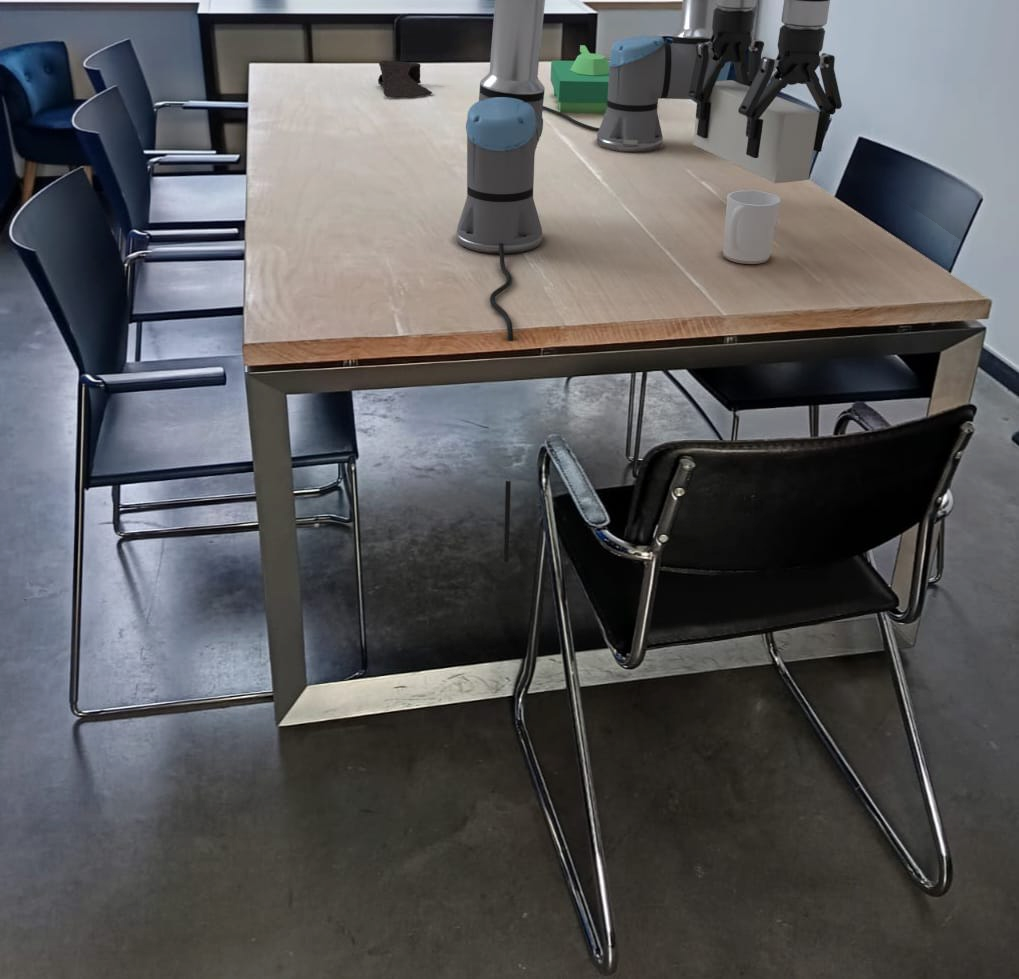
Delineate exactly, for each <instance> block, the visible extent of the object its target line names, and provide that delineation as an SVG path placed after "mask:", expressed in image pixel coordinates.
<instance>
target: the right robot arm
mask: <svg viewBox="0 0 1019 979" xmlns="http://www.w3.org/2000/svg"><path fill="white" fill-rule="evenodd" d="M757 1H758V0H682V3H681V14H680V26H679V28H678V29H677V30H676V31H675V32H674V33H673V34H672V42H671V43H665V40H664V38H663V37H662V36H660V35H638V36H637V35H636V36H631V37H626V38H622V39H619V40H618V41H615V42H614V43H613V45H612V46H611V49H610V56H609V61H608V62H609V67H610V70H609V84H608V97H607V109H606V112H605V114H603V118H602V121H601V123H600V126H599V127H596V126H592V125H588V124H586V123H583V122H581V121H578V120H577V119H574V118H572V117H571V116H569V115H567V114H566V113H560V112H559V110H556V109H553V108H550V107H548V106H545V105H543V111H546V112H548V113H551V114H554V115H556V116H559V117H560V118H563V119H565V120H567V121H569V122H570V123H572V124H574V125H576V126H579V127H581V128H584V129H586V130H589V131H592V132H593V131H594V132H597V133H596V145H598V146H600V147H602V148H603V149H607V150H611V151H615V152H625V153H644V152H645V153H647V152H653V151H656V150H658V149H661V148H662V147H663V140H664V136H663V132H662V127H661V122H660V119H659V113H658V107H659V106H658V105H659V100H660V99H662V100H663V99H664V100H665V99H666V100H695V102H696V110H695V119H696V118H697V119H698V129H697V135H698V136H700V137H702V138H707V137H708V128H709V119H710V111H711V103H710V102H708V99H709V97H710V95H711V92H712V89H713V87H714V85H715V83H716V81H726V80H728V75H729V72H730V67H731V64H733V67H734V73H735V78H736V82H737V83H740V84H743V85H746V86H749V87H750V86H751V84H752V82H753V80H754V78H755V76H756V74H757V72H758V71H759V66H760V62H761V59H762V53H763V50H764V47H765V42H764V41H762V40H759V39H755V38H754V39H753V38H752V34H751V33H752V31H753V30H754V22H755V14H756V12H755V10H754V8H755V7H756V6H757ZM747 51H748V60H747V55H746V52H747ZM747 66H748V67H747Z"/></svg>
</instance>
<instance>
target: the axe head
mask: <svg viewBox="0 0 1019 979" xmlns="http://www.w3.org/2000/svg"><path fill="white" fill-rule="evenodd" d="M378 66H379V68H380V72H381V74H379V75H378V79H377V84H378V85H379V86H380V87H381V88H382V89H383V95H384V96H385V97H388V98H394V99H395V98H396V99H403V98H405V99H406V98H407V99H411V98H418V97H425V96H429V95H432V94H433V91H431V90H430V89H428V88H427V87H425V86H422V85H421V84H422V82H421V63H419V62H410V61H408V62H407V61H397V60H388V59H387V60H380V61H379V62H378Z"/></svg>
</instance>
